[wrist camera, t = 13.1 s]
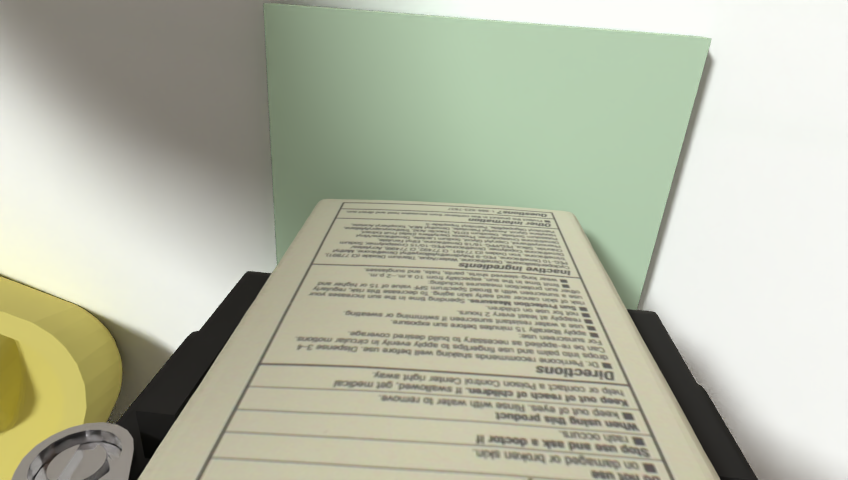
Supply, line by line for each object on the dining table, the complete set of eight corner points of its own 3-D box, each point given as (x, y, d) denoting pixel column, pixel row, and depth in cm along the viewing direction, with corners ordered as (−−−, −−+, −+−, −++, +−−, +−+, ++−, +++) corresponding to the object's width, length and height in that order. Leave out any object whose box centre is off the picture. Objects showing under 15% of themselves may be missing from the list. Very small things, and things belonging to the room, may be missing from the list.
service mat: (290, 397, 18) (284, 410, 17) (272, 2, 13) (263, 3, 12) (594, 432, 17) (598, 446, 17) (701, 36, 12) (711, 38, 12)
